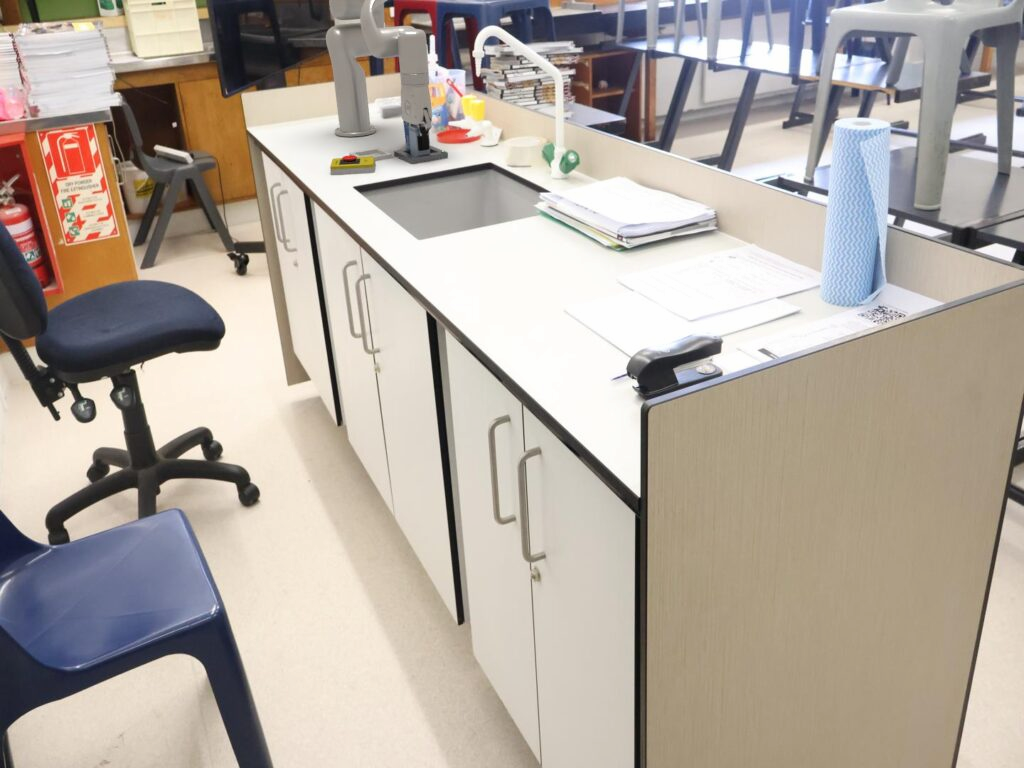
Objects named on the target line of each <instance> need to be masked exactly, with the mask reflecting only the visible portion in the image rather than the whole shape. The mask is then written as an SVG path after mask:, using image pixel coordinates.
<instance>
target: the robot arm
mask: <svg viewBox="0 0 1024 768" xmlns="http://www.w3.org/2000/svg"><path fill="white" fill-rule="evenodd" d="M328 1H329V2H328V4H329V5H328V6H329V11H330V13H331V14H330V15H331V16H332V17H333V18H334V19H335V20H339V21H353V20H359V21H360V22H351V23H342V24H336V25H333V26H331V27H330V28H328V30H327V32H326V34H325V41H326V42H325V43H326V44H325V45H326V47H327V51H328V55H329V58H330V62H331V66H332V67H331V68H332V74H333V82H334V84H333V85H334V90H335V97H336V107H337V115H338V116H337V117H338V126H339V127H337V128H335V129H334V133H335V135H336V136H339V137H347V138H350V137H351V138H353V137H354V138H355V137H361V136H362V137H364V136H368V135H372V134H375V132H377V130H376V126H374V125H371V119H370V108H369V99H368V89H367V78H366V73H365V70H364V67H362V66H361V65H360V63H359V62H358V61H357V58H360V57H363V58H364V57H371V56H372V57H374V58H377V59H389V58H395V57H396V58H397V57H398V61H399V71H400V73H399V74H400V86H401V87H400V88H401V89H400V109H401V111H400V112H401V119H402V121H403V120H404V121H405V122H407V123H408V126H409V125H417V128H418V135H419V136H417V140H418V150H419V151H424V150H429V141H430V130H431V129H432V127H433V125H432V122H433V109H432V100H431V93H430V88H429V86H430V72H429V57H428V45H427V43H428V42H427V34H426V32H425V31H424V30H423V29H418V28H415V27H413V26H412V25H411V26H410V25H399V26H398V25H397V26H388V27H386V26H385V2H387V1H388V0H328ZM422 121H423V122H425V123H423V124H420V123H421V122H422ZM421 126H424V127H422V130H421Z"/></svg>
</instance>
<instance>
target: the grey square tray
mask: <svg viewBox="0 0 1024 768" xmlns="http://www.w3.org/2000/svg"><path fill="white" fill-rule="evenodd" d="M349 155H354V156H357V157H369V156H373V157H374V158H375V162H377V161H381V160H389V159H392V158H394V157H393V156H394V155H393V153H391V152H389V151H386V150H384V149H382V148H380V147H377V148H371V149H366V150H359V151H353V152H349V153H348V156H349Z"/></svg>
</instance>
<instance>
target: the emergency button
mask: <svg viewBox="0 0 1024 768" xmlns="http://www.w3.org/2000/svg"><path fill="white" fill-rule="evenodd" d="M376 167H377V164H376V161H375V158H374V157H373V156H369V157H357V156H354V155H349V154H348V155H344V156H342V157H337V158H332V160H331V162H330V167H329V168H330V175H331V176H338V175H339V176H341V175H356V174H358V175H359V174H374V173H376V172H375V171H376Z"/></svg>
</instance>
